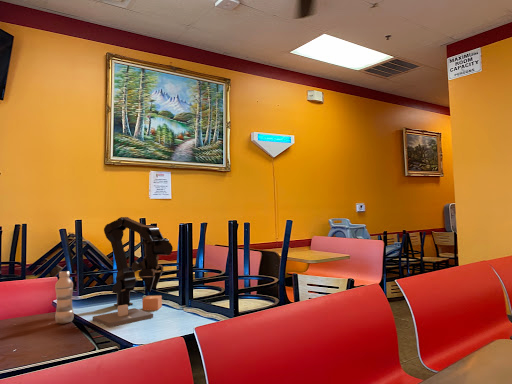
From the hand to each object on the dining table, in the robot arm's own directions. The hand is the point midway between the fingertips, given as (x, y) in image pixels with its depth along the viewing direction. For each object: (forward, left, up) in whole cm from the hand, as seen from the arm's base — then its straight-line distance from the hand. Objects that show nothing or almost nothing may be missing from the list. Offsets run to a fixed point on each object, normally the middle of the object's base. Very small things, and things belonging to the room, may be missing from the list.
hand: (151, 289), depth 173 cm
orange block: (0, 0, -8) cm, 8 cm away
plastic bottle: (-6, -35, -8) cm, 36 cm away
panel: (+7, -17, -8) cm, 20 cm away
